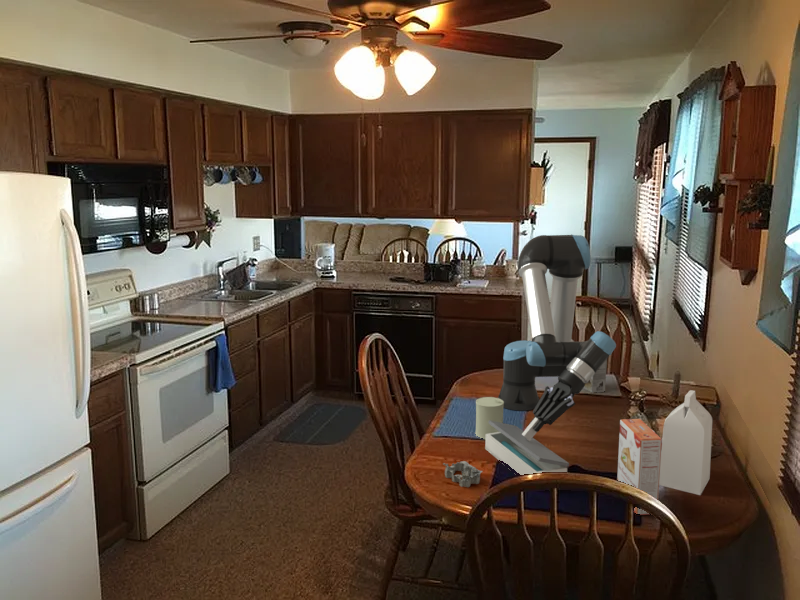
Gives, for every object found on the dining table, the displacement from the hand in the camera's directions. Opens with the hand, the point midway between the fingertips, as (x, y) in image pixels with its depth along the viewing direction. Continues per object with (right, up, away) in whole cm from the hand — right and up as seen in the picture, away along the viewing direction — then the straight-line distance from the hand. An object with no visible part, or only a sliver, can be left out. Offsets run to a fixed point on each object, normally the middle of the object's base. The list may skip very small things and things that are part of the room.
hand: (525, 437), depth 203 cm
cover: (0, -2, +1) cm, 2 cm away
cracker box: (+25, -13, -20) cm, 35 cm away
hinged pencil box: (0, -9, +2) cm, 9 cm away
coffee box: (+39, +5, +70) cm, 81 cm away
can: (-7, -4, +26) cm, 27 cm away
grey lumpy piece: (-19, -11, -6) cm, 23 cm away
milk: (+43, -11, -9) cm, 45 cm away
